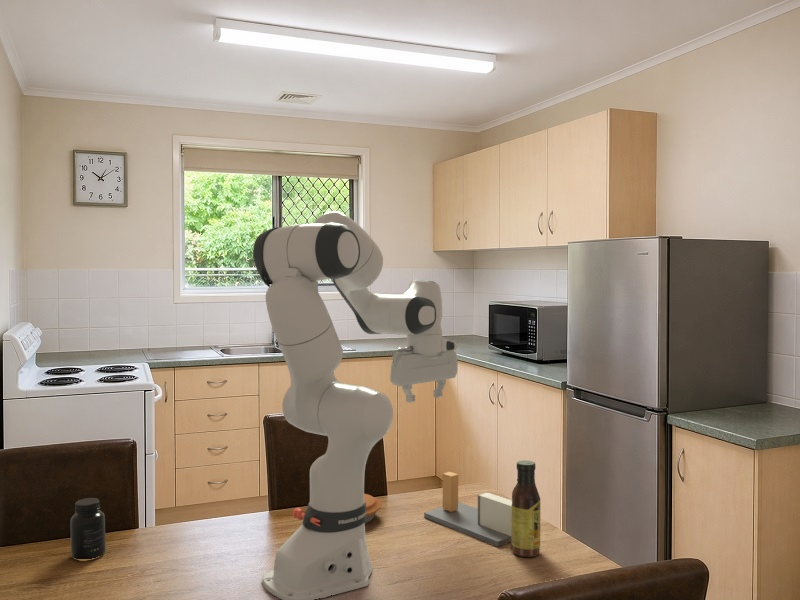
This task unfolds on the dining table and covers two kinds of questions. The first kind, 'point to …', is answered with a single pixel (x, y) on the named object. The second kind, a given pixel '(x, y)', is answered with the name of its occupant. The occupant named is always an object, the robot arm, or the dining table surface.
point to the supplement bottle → (87, 530)
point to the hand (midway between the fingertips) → (424, 399)
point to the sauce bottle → (525, 512)
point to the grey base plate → (479, 519)
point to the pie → (371, 506)
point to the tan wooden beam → (450, 491)
